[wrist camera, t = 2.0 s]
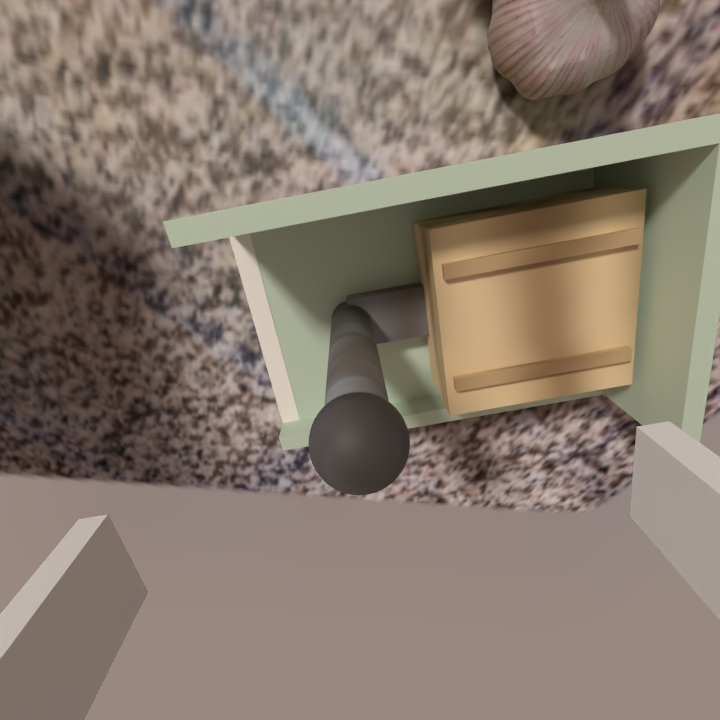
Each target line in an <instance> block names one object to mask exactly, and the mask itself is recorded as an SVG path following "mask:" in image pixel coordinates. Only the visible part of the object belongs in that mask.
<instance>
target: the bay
mask: <svg viewBox="0 0 720 720" xmlns="http://www.w3.org/2000/svg"><path fill="white" fill-rule="evenodd" d="M583 189H647V194H646V207H645V220H644V233H643V246H642V259H641V272H640V285H639V299H638V312H637V325H636V338H635V351H634V364H633V377H632V384H630V385H624V386H618V387H613V388H607V389H601V390H595V391H590V392H584V393H578V394H573V395H567V396H561V397H555V398H550V399H544V400H538V401H533V402H527V403H521V404H515V405H510V406H504V407H498V408H493V409H487V410H481V411H476V412H470V413H464V414H458V415H453V416H450V415H449V413H448V411H447V409H446V407H445V405H444V403H443V401H442V398H441V396H440V394H439V392H438V390H437V388H436V386H435V384H434V381H433V379H432V374H431V366H430V358H429V350H428V342H427V335H425V336H420V337H414V338H409V339H403V340H398V341H392V342H387V343H381V344H377V349H378V354H379V358H380V363H381V367H382V372H383V377H384V381H385V386H386V390H387V395H388V400H389V402H390V403H391V404H392V405H393V406H394V407H395V408H396V409H397V410H398V411H399V412H400V414H401V415H402V417H403V419H404V421H405V423H406V426H407V428H408V429H409V428H415V427H420V426H426V425H432V424H438V423H443V422H449V421H455V420H461V419H466V418H472V417H478V416H483V415H489V414H495V413H501V412H506V411H512V410H518V409H524V408H529V407H535V406H541V405H546V404H552V403H558V402H564V401H569V400H575V399H581V398H587V397H592V396H598V395H605V396H606V397H607V398H608V399H610V400H611V401H612V402H613V403H615V404H616V405H617V406H618V407H620V408H621V409H622V410H624V411H625V412H626V413H627V414H629V415H630V416H631V417H632V418H634V419H635V420H636V421H638V422H639V423H640V424H641V425H649V424H655V423H661V422H667V421H670V422H671V423H673V424H674V425H675V426H677V427H678V428H680V429H681V430H682V431H684V432H685V433H687V434H688V435H689V436H691V437H692V438H694V439H695V440H696V441H698V442H699V443H700V438H701V432H702V425H703V419H704V412H705V406H706V399H707V393H708V386H709V380H710V373H711V367H712V360H713V354H714V347H715V341H716V334H717V328H718V321H719V315H720V113H719V114H714V115H709V116H704V117H699V118H693V119H688V120H683V121H678V122H673V123H668V124H663V125H657V126H652V127H647V128H642V129H637V130H632V131H627V132H621V133H616V134H611V135H606V136H601V137H596V138H591V139H585V140H580V141H575V142H570V143H565V144H560V145H554V146H549V147H544V148H539V149H534V150H529V151H524V152H518V153H513V154H508V155H503V156H498V157H493V158H488V159H482V160H477V161H472V162H467V163H462V164H457V165H452V166H446V167H441V168H436V169H431V170H426V171H421V172H415V173H410V174H405V175H400V176H395V177H390V178H385V179H379V180H374V181H369V182H364V183H359V184H354V185H349V186H343V187H338V188H333V189H328V190H323V191H318V192H313V193H307V194H302V195H297V196H292V197H287V198H282V199H276V200H271V201H266V202H261V203H256V204H251V205H246V206H240V207H235V208H230V209H225V210H220V211H215V212H210V213H204V214H199V215H194V216H189V217H184V218H179V219H174V220H168V221H163V223H164V226H165V229H166V232H167V235H168V238H169V241H170V244H171V247H172V248H176V247H181V246H186V245H191V244H197V243H202V242H207V241H212V240H217V239H223V238H228V237H229V238H230V241H231V245H232V248H233V252H234V255H235V259H236V262H237V266H238V269H239V272H240V276H241V279H242V283H243V286H244V290H245V293H246V297H247V300H248V304H249V307H250V311H251V314H252V318H253V321H254V325H255V328H256V331H257V335H258V338H259V342H260V345H261V349H262V352H263V356H264V359H265V363H266V366H267V370H268V373H269V377H270V380H271V384H272V387H273V390H274V394H275V397H276V401H277V404H278V408H279V411H280V415H281V418H282V422H283V424H282V428H281V432H280V436H279V439H280V443H281V446H282V449H283V450H289V449H294V448H300V447H306V446H309V434H310V430H311V426H312V424H313V421H314V419H315V418H316V416H317V414H318V413H319V411H320V410H321V409H322V408H323V407H324V404H325V392H326V380H327V368H328V357H329V345H330V333H331V321H332V314H333V311H334V310H335V308H336V307H337V306H338V305H339V304H341V303H342V302H345V301H347V295H352V294H358V293H363V292H369V291H374V290H379V289H385V288H390V287H396V286H401V285H406V284H412V283H417V282H420V279H419V271H418V263H417V255H416V247H415V239H414V231H413V223H412V222H415V221H420V220H426V219H431V218H436V217H441V216H447V215H452V214H457V213H462V212H468V211H473V210H478V209H483V208H489V207H494V206H499V205H504V204H510V203H515V202H520V201H525V200H531V199H536V198H541V197H546V196H552V195H557V194H562V193H567V192H573V191H578V190H583Z"/></svg>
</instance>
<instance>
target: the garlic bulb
mask: <svg viewBox="0 0 720 720" xmlns="http://www.w3.org/2000/svg"><path fill="white" fill-rule="evenodd" d="M659 7H660V0H493V1H492V18H491V22H490V25H489V30H488V36H487V37H488V48H489V51H490V55H491V60H492V62H493V65H494V67H495V68H496V70H497V71H498V72H499V73H500V74H501V75H502V76H503V77H505V78H507V79H508V80H510V81H511V82H512V83H513V85H514V86H515V88H516V90H517V91H518V93H519V94H520V95H521V96H523V97H524V98H526V99H530V100H542V99H545V98H548V97H551V96H556V95H571V94H575V93H578V92H580V91H582V90H583V89H585V88H586V87H587V86H589V85H590V84H591V83H593V82H595V81H598V80H602V79H605V78H607V77H609V76H611V75H612V74H614V73H615V72H617V71H618V70H619V69H620V68H621V67H622V66H623V65H624V64H625V63H626V62H627V60H628V59H629V57H630V56H631V54H632V52H633V51H634V50H635V48H636V47H638V46H639V45H640V44H641V43H642V42H643V41H644V40H645V39H646V37H647V36H648V35H649V33H650V31H651V30H652V28H653V26H654V24H655V21H656V18H657V15H658V12H659Z"/></svg>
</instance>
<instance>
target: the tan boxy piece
mask: <svg viewBox="0 0 720 720" xmlns="http://www.w3.org/2000/svg"><path fill="white" fill-rule="evenodd" d="M646 194H647V189H583V190H578V191H573V192H567V193H562V194H557V195H552V196H546V197H541V198H536V199H531V200H525V201H520V202H515V203H510V204H504V205H499V206H494V207H489V208H483V209H478V210H473V211H468V212H462V213H457V214H452V215H447V216H441V217H436V218H431V219H426V220H420V221H415V222H412V223H413V231H414V239H415V247H416V255H417V263H418V271H419V279H420V282H417V283H412V284H406V285H401V286H396V287H390V288H385V289H379V290H374V291H369V292H363V293H358V294H352V295H347V301H345V302H342V303H341V304H339V305H338V306H337V307H336V308H335V310H334V311H333V314H332V321H331V333H330V345H329V357H328V368H327V380H326V392H325V404H324V407H323V408H322V409H321V410H320V411H319V413H318V414H317V416H316V418H315V419H314V421H313V424H312V426H311V430H310V434H309V453H310V458H311V461H312V464H313V466H314V467H315V469H316V471H317V473H318V474H319V475H320V477H321V478H322V479H323V480H324V481H325V482H326V483H327V484H329V485H330V486H331V487H333V488H335V489H336V490H338V491H341V492H344V493H347V494H352V495H366V494H371V493H375V492H378V491H380V490H382V489H384V488H385V487H387V486H388V485H390V484H391V483H392V482H393V481H394V480H395V479H396V478H397V477H398V476H399V474H400V473H401V472H402V470H403V468H404V466H405V464H406V461H407V458H408V455H409V447H410V439H409V432H408V428H407V426H406V423H405V421H404V419H403V417H402V415H401V414H400V412H399V411H398V410H397V409H396V408H395V407H394V406H393V405H392V404H391V403H390V402H389V400H388V395H387V390H386V386H385V381H384V377H383V372H382V367H381V363H380V358H379V354H378V349H377V344H381V343H387V342H392V341H398V340H403V339H409V338H414V337H420V336H425V335H427V342H428V350H429V358H430V366H431V374H432V379H433V381H434V384H435V386H436V388H437V390H438V392H439V394H440V396H441V398H442V401H443V403H444V405H445V407H446V409H447V411H448V413H449V415H450V416H453V415H458V414H464V413H470V412H476V411H481V410H487V409H493V408H498V407H504V406H510V405H515V404H521V403H527V402H533V401H538V400H544V399H550V398H555V397H561V396H567V395H573V394H578V393H584V392H590V391H595V390H601V389H607V388H613V387H618V386H624V385H630V384H632V377H633V364H634V351H635V338H636V325H637V312H638V299H639V285H640V272H641V259H642V246H643V233H644V220H645V207H646Z"/></svg>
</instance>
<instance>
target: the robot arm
mask: <svg viewBox="0 0 720 720" xmlns="http://www.w3.org/2000/svg"><path fill="white" fill-rule="evenodd" d="M630 517H631V518H632V519H633V521H634V522H635V523H636V524H637V525H638V526H639V528H640V529H641V530H642V531H643V532H644V533H645V535H646V536H647V537H648V538H649V539H650V540H651V541H652V542H653V544H654V545H655V546H656V547H657V548H658V550H659V551H660V552H661V553H662V554H663V555H664V556H665V558H666V559H667V560H668V561H669V562H670V563H671V564H672V566H673V567H674V568H675V569H676V570H677V571H678V572H679V574H680V575H681V576H682V577H683V578H684V579H685V581H686V582H687V583H688V584H689V585H690V586H691V587H692V589H693V590H694V591H695V592H696V593H697V594H698V595H699V597H700V598H701V599H702V600H703V601H704V602H705V604H706V605H707V606H708V607H709V608H710V609H711V611H712V612H713V613H714V614H715V615H716V616H717V617H718V619H719V620H720V457H719V456H717V455H716V454H714V453H713V452H712V451H710V450H709V449H708V448H706V447H705V446H703V445H702V444H701V443H699V442H698V441H696V440H695V439H694V438H692V437H691V436H689V435H688V434H687V433H685V432H684V431H682V430H681V429H680V428H678V427H677V426H675V425H674V424H673V423H671V422H670V421H667V422H661V423H655V424H649V425H643V426H637V429H636V442H635V454H634V467H633V479H632V492H631V505H630ZM147 592H148V591H147V589H146V588H145V586H144V584H143V582H142V580H141V578H140V576H139V574H138V572H137V570H136V568H135V566H134V564H133V562H132V560H131V558H130V557H129V555H128V553H127V551H126V549H125V547H124V545H123V543H122V541H121V539H120V537H119V535H118V533H117V532H116V529H115V528H114V526H113V523H112V522H111V520H110V518H109V516H108V514H107V515H101V516H95V517H89V518H83V519H78V521H77V522H76V523H75V524H74V525H73V527H72V528H71V529H70V530H69V531H68V533H67V534H66V535H65V536H64V538H63V539H62V540H61V541H60V543H59V544H58V545H57V546H56V547H55V549H54V550H53V551H52V552H51V553H50V555H49V556H48V557H47V558H46V560H45V561H44V562H43V563H42V564H41V566H40V567H39V568H38V569H37V570H36V572H35V573H34V574H33V575H32V577H31V578H30V579H29V580H28V582H27V583H26V584H25V585H24V586H23V587H22V589H21V590H20V591H19V592H18V594H17V595H16V596H15V597H14V598H13V600H12V601H11V602H10V603H9V605H8V606H7V607H6V608H5V609H4V611H3V612H2V613H1V614H0V720H84V719H85V717H86V715H87V713H88V711H89V709H90V707H91V705H92V703H93V701H94V699H95V697H96V695H97V693H98V691H99V689H100V687H101V685H102V683H103V681H104V679H105V677H106V675H107V673H108V671H109V668H110V667H111V665H112V662H113V661H114V659H115V657H116V655H117V653H118V651H119V649H120V647H121V645H122V643H123V641H124V639H125V637H126V635H127V633H128V631H129V629H130V627H131V625H132V623H133V620H134V619H135V617H136V615H137V613H138V610H139V609H140V607H141V605H142V603H143V601H144V599H145V597H146V595H147Z"/></svg>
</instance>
